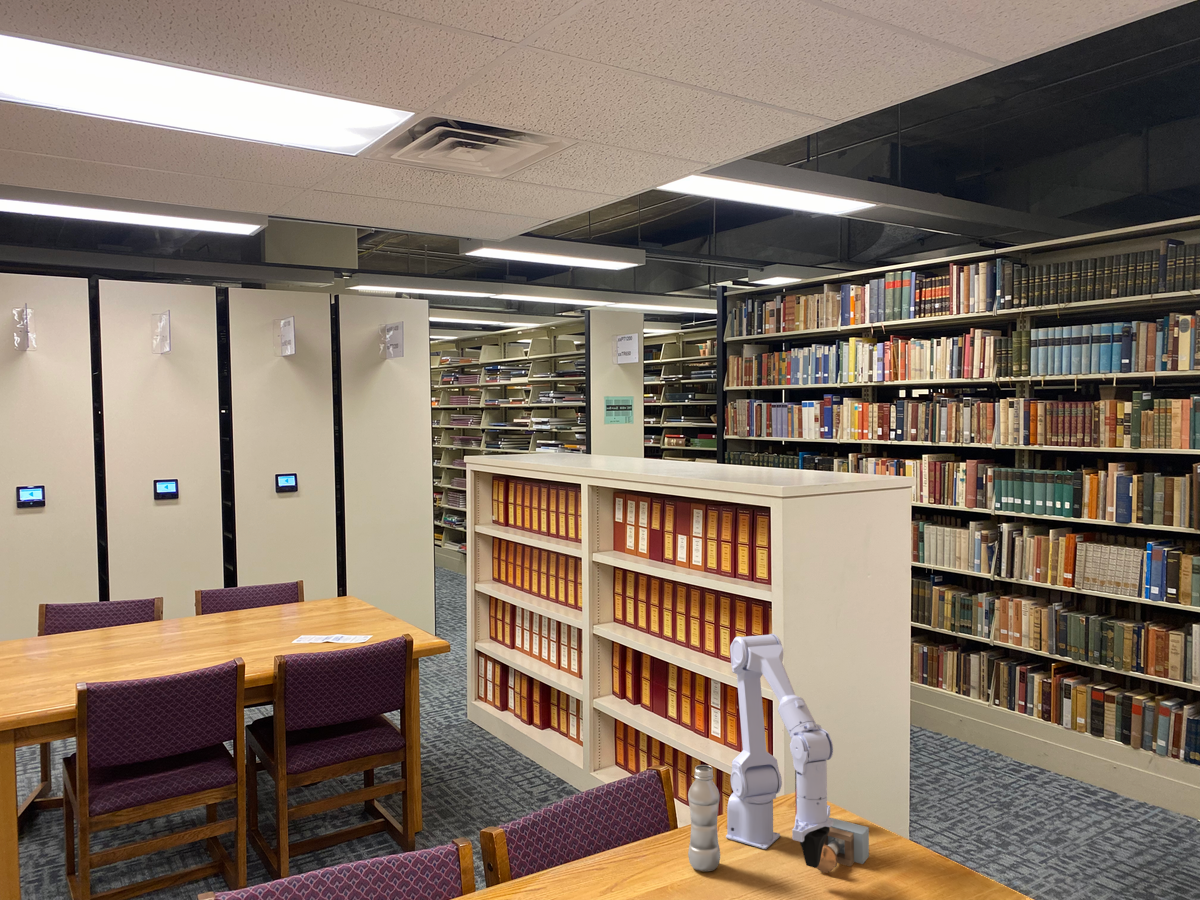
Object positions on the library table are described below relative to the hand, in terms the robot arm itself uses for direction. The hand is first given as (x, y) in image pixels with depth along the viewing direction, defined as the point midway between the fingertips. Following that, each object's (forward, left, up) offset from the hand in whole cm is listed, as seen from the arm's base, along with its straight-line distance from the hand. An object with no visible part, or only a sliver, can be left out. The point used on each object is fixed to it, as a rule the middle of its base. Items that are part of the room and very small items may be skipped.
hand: (812, 865), depth 159 cm
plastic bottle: (-21, -5, -4) cm, 22 cm away
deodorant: (-12, +28, -4) cm, 30 cm away
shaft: (0, +11, -4) cm, 12 cm away
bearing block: (0, +17, -4) cm, 17 cm away
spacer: (0, +13, -4) cm, 14 cm away
